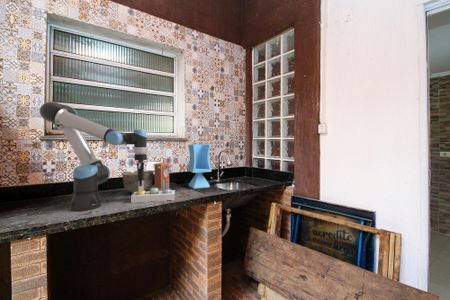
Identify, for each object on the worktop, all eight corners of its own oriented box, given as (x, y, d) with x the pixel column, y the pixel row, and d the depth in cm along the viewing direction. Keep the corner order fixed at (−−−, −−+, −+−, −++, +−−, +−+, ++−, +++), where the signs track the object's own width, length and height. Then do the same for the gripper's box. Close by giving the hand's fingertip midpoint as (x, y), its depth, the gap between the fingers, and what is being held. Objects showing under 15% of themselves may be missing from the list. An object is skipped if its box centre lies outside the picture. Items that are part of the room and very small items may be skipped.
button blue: (162, 196, 144) (162, 190, 144) (163, 194, 149) (163, 189, 149) (170, 195, 145) (170, 190, 145) (170, 193, 150) (170, 188, 150)
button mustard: (136, 197, 140) (136, 192, 140) (137, 195, 145) (137, 190, 145) (144, 197, 141) (144, 191, 141) (145, 195, 146) (145, 190, 146)
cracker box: (170, 190, 173) (161, 194, 158) (162, 189, 175) (152, 194, 160) (170, 162, 172) (161, 164, 158) (162, 162, 174) (152, 164, 159)
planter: (193, 189, 176) (193, 144, 175) (187, 185, 190) (186, 144, 189) (211, 187, 183) (211, 144, 182) (204, 184, 197) (204, 144, 196)
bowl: (157, 189, 176) (157, 170, 175) (148, 195, 154) (148, 174, 154) (129, 189, 175) (128, 170, 175) (116, 196, 153) (116, 174, 153)
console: (131, 202, 136) (130, 196, 136) (134, 198, 148) (134, 192, 148) (174, 200, 142) (174, 194, 142) (174, 195, 154) (174, 190, 154)
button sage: (149, 194, 142) (149, 189, 142) (150, 193, 147) (150, 187, 147) (157, 194, 143) (157, 189, 143) (158, 192, 148) (158, 187, 148)
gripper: (145, 154, 137) (146, 192, 138) (147, 153, 150) (148, 188, 150) (132, 154, 135) (132, 193, 136) (135, 153, 148) (136, 188, 149)
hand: (141, 190), depth 143 cm, fingers closed
